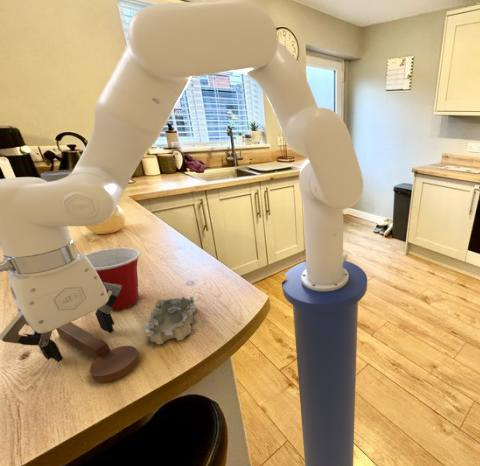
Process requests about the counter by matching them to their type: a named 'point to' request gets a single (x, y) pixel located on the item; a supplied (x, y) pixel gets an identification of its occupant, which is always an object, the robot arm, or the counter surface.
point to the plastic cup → (118, 272)
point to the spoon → (101, 354)
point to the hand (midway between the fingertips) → (83, 342)
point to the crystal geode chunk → (170, 320)
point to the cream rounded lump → (110, 223)
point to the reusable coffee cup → (55, 175)
